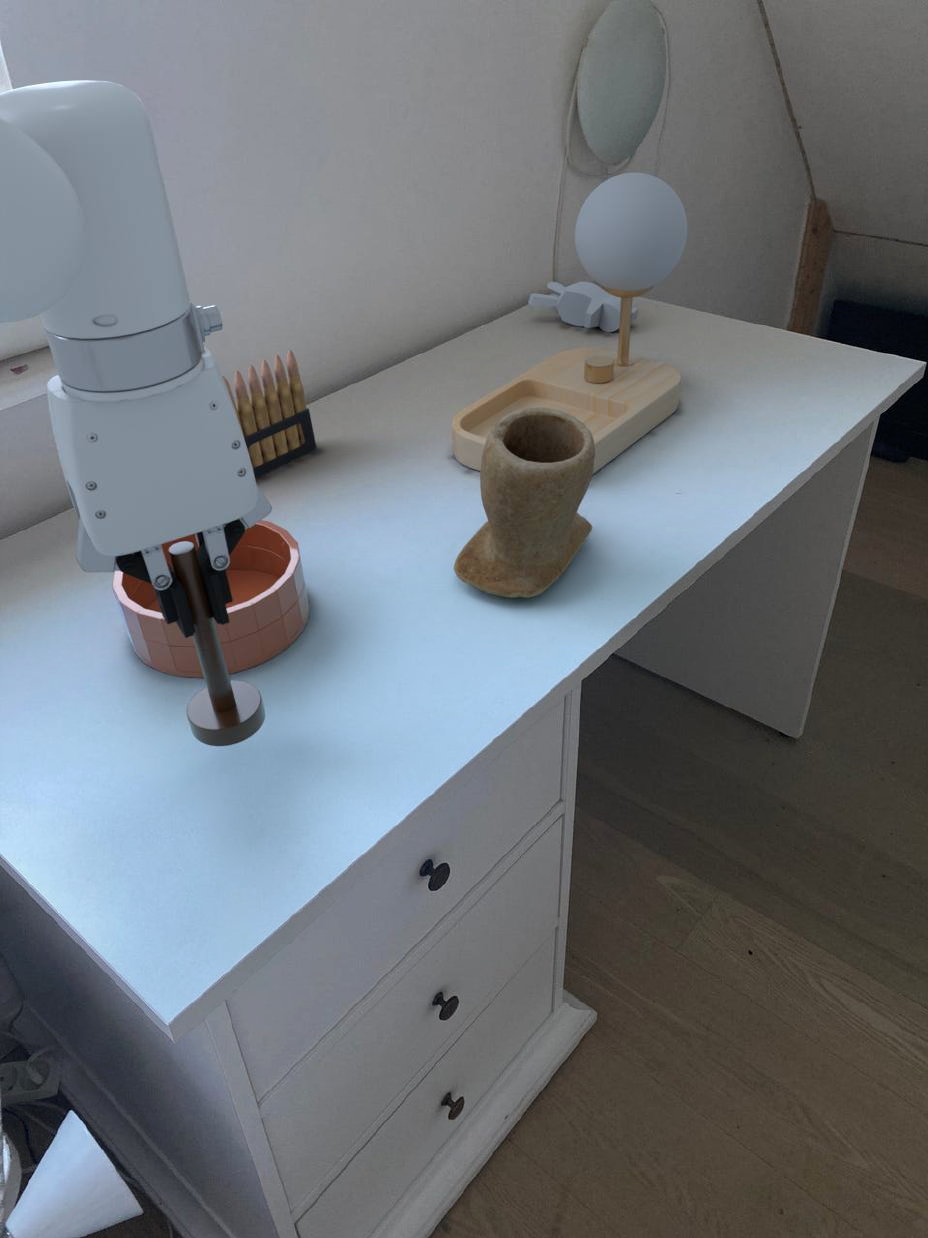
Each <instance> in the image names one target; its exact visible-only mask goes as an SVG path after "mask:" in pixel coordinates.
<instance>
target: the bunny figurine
mask: <svg viewBox="0 0 928 1238" xmlns="http://www.w3.org/2000/svg"><path fill="white" fill-rule="evenodd" d="M546 288H547V291H548V292H550V293H552V294H555V295H549V294H543V293H534V292H533V293H530V296H529V299H528V302H527V304H528V305H529V306H532V307H556V310H557V312H558V314H559V317H560V319H561V321H563V322H565V323H566V324H569V325H572V326H575V327H583V328H587V329H591V328H596V327H599V328H600V329H601V331H603V332H605V333H612V332H613V333H614V332H616V331H618V330H619V326H620V307H621V297H616V296H613V295H611V294H609V293H607V292H606V291H605V290H604V289H603V288H602V287H601V286H600V285H597V284H595V283H593V282H589V281H581V280H580V281H578V282H576V283H573V284H570V285H568V286H564V285H562V284H561V283H560V282H557V281H551V282H548V283H547V284H546ZM556 295H557V296H556ZM638 312H639V309H638V308H635V306H634V305H633V304H632V313H631V324H632V323H634V322H635V321H636V320H637V317H638Z"/></svg>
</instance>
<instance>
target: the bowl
mask: <svg viewBox="0 0 928 1238" xmlns="http://www.w3.org/2000/svg"><path fill="white" fill-rule="evenodd" d="M183 541H188V542H191V543H193V544H194V545H195V549H196V551H197V550H198V548H199V547H198V545H197V540H196V536H195V534H192V535H189V536H186V537H183V538H180V539H177V540H174V541H170V542H167V543H164V544H161V545H162V548H163V552H164V555H165V558H166V561H167V562H168V564H169V566H171V568H172V569H173V566H172V562H171V559H170V555H169V548H170V547H171V546H172V545H173V544H175V543H178V542H183ZM299 547H300V546H299V542H298V541H297V540H296V539H295V538H294V537H293V535H292V534H291V533H290V532H289V531H288V530H287V529H285V528H283V527H281V526H279V525H277V524H275V523H274V522H272V521H268V520H263V519H262V520H261V521H259V522H258V523H256V524H255V525H254V526H252V527H251V528H247V529H246V530H245V532H244V534H243V536H242V537H241V539H240V541H239V542H238V544H237V545H236V547H235V548H234V550H233V551H232V553H231V554H230V556H229V557H230V563H229V566H228V567H227V568H226V574H227V578H228V582H229V586H230V590H231V594H232V599H233V602H231V603H228V604H225V605H226V609H227V613H228V617H229V621H230V622H229V623H227V624H224V625H221V623H220V624H218V623H217V622H216V620H215V619H214V621H215V625H216V629H217V633H218V637H219V640H220V644H221V648H222V652H223V656H224V660H225V663H226V667H227V671H228V675H231V674H234V673H238V672H242V671H245V670H248V669H251V668H254V667H256V666H258V665H261V664H263V663H265V662H267V661H269V660H271V659H273V658H275V657H276V656H277V655H279V654H281V653H283V652H284V651H285V650H286V649H287V648H289V647H290V646H291V645H293V643H294V642H295V641H296V640H297V639H298V638H299V636H300V635H301V633H303V631H304V629H305V627H306V625H307V623H308V619H309V614H310V605H309V598H308V592H307V586H306V580H305V575H304V568H303V563H302V558H301V553H300V548H299ZM173 571H174V569H173ZM111 588H112V591H113V595H114V598H115V600H116V605H117V606H118V610H119V613H120V616H121V619H122V622H123V624H124V625H123V626H124V628H125V631H126V634H127V636H128V637H127V638H128V639H129V641H130V644H131V646H132V649H133V651H134V653H135V654H136V656H137V657H138V658H139V659H140V660H141V662H143V663H144V664H146V665H147V666H148V667H150V668H151V669H154V670H156V671H158V672H160V673H164V674H168V675H172V676H177V677H183V678H204V675H203V671H202V668H201V664H200V661H199V657H198V654H197V650H196V647H195V643H194V640H193V636H190V637H188V638H185V636H184V635H183V633H182V631H181V630H180V628H179V626H178V625H177V623H176V622H174V623H171V624H167V623H166V621H165V619H164V617H163V615H162V612H161V609H160V606H159V603H158V600H157V596H156V593H155V590H154V586H153V585H152V584H150V583H148V582H145V581H143V580H140V579H138V578H135V577H133V576H130V575H128V574H125V573H123V572H121V571H114V572H113V579H112V585H111ZM213 618H214V617H213Z"/></svg>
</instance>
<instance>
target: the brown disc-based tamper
mask: <svg viewBox="0 0 928 1238" xmlns="http://www.w3.org/2000/svg"><path fill="white" fill-rule="evenodd" d="M169 555H170V559H171V562H172V566H173V569H174V573H175V575H176V576H177V577H178V579H179V580H180V582H181V584H182V585H183V588H184V591H185V594H186V598H187V602H188V605H189V609H190V612H191V616H192V620H193V623H194V627H195V631H196V632H195V633H193V640H194V643H195V647H196V650H197V654H198V657H199V661H200V664H201V668H202V671H203V675H204V677H203V679H204V682H205V685H206V687H204V688H202V689H201V690H199V691H198V692H196V693H195V695H194V696H192V698H191V699H190V700H189V702H188V704H187V706H186V707H187V708H186V717H187V720H188V724H189V727H190V730H191V733H192V735H193V737H194V738H195V739H196V740H197V741H199V742H200V743H202V744H204V745H207V746H211V747H227V746H233V745H237V744H239V743H242V742H244V741H246V740H248V739H250V738H251V737H253V736H254V735H255V734H256V733H258V731H259V730H260V729H261V728H262V726H263V725H264V722H265V720H266V719H265V718H266V710H265V707H264V701H263V698H262V694H261V692H260V690H259V689H258V688H257V687H256V686H255V685H253V684H252V683H249V682H247V681H243V680H235V679H233V680H231V678H230V676H229V675H230V674H228V671H227V667H226V663H225V660H224V656H223V652H222V648H221V644H220V640H219V637H218V633H217V629H216V625H215V621H214V618H213V614H212V611H211V607H210V603H209V599H208V595H207V592H206V588H205V584H204V580H203V576H202V573H201V568H200V564H199V560H198V557H197V553H196V549H195V545H194V544H193V543H191V542H188V541H183V542H178V543H175V544H173V545H172V546H171V547H170V548H169Z"/></svg>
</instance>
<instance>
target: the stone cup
mask: <svg viewBox="0 0 928 1238" xmlns="http://www.w3.org/2000/svg"><path fill="white" fill-rule="evenodd" d="M594 458H595V445H594V439H593V436H592V434H591V432H590V430H589V429H588V428H587V427H586V426H585V425H584V423H582V422H581V421H579V420H578V419H577V418H576V417H574V416H572V415H570V414H568V413H565V412H563V411H560V410H556V409H551V408H544V407H538V408H526V409H521V410H517V411H514V412H511V413H509V414H508V415H506V416H505V417H503V418H502V419H500V420H499V421H498V422H497V423H496V424H495V425H494V427H493V428H492V429H491V431H490V433H489V435H488V437H487V440H486V443H485V446H484V448H483V454H482V462H481V471H479V472H480V474H479V480H480V481H479V483H480V484H479V487H480V496H481V497H480V498H481V503H482V506H483V510H484V513H485V515H486V518H487V521H486V522H485V523H484V524H483V525H482V526H481V527H480V528H479V529H478V531H476V532H475V533H474V535H472V537H471V538H470V539H469V541H468V542H467V543H466V544H465V545H464V546H463V547H462V549H461V551H460V552H459V553H458V555H457V557H456V558H455V561H454V565H453V571H454V574H455V576H456V577H457V578H458V580H460V581H461V582H463V583H465V585H468V586H469V587H472V588H473V589H477V590H479V591H481V592H483V593H486V594H490V595H493V596H494V595H495V596H499V597H503V598H511V599H515V598H525V599H529V598H533V597H536V596H539V595H541V594H542V593H544V592H545V591H547V589H549V588H550V587H551V586H552V585H553V584H554V583H555V582H556V581H557V580H559V578H560V577H561V576H562V574H563V573H564V572H565V571H566V569H568V567H569V565H570V563H571V562H572V561H573V560H574V558H575V557H576V555H577V554H578V552H579V551H580V549H581V548H582V546H583V545H584V543H585V542H586V541H587V539H588V537H589V536H590V534H591V533H592V530H593V526H592V523H590V522H589V521H588V519H587V518H586V517H585V516H582V515H580V513H578V510H579V509H580V508H579V507H580V506H581V504H582V502H583V500H584V498H585V495H586V493H587V491H588V490H589V487H590V484H591V481H592V478H593V475H594V474H593V468H594ZM592 474H593V475H592Z"/></svg>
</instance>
